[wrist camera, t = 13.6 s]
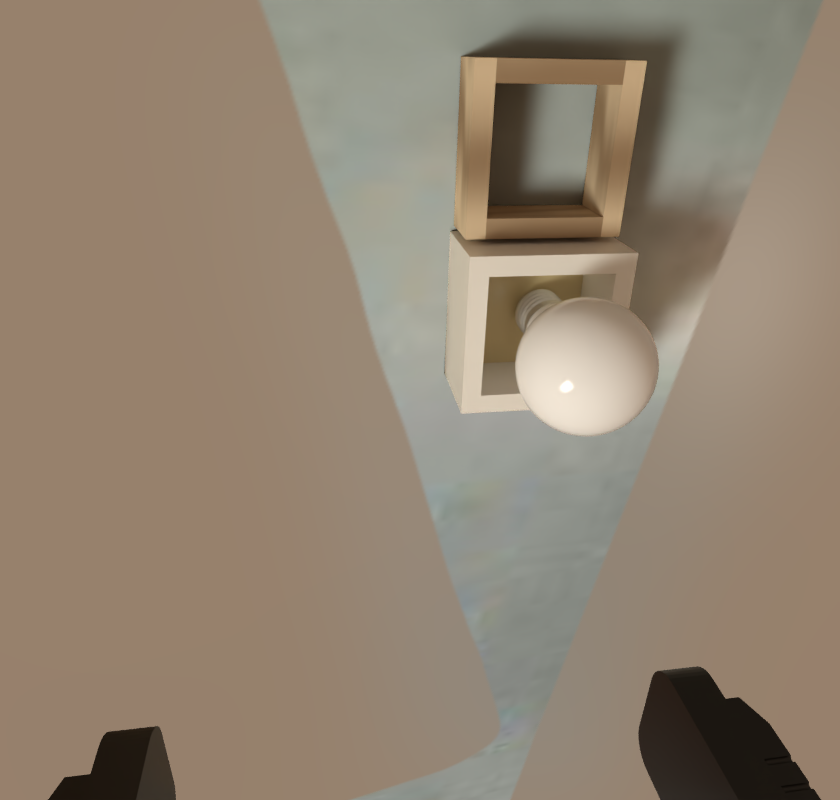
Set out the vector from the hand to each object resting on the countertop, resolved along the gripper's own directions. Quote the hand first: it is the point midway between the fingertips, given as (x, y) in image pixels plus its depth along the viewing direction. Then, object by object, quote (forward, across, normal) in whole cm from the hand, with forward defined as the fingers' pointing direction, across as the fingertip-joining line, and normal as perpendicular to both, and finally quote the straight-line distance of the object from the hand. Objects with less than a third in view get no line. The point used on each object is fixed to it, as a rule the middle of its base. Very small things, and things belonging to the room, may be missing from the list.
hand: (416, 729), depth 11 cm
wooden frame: (+28, -10, -6) cm, 30 cm away
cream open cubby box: (+28, -10, +3) cm, 30 cm away
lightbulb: (+27, -11, +3) cm, 29 cm away
